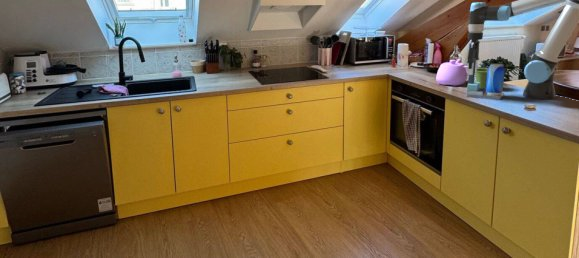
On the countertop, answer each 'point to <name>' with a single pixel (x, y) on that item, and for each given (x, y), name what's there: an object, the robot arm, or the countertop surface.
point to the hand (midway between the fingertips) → (471, 73)
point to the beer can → (495, 79)
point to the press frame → (483, 94)
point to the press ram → (473, 85)
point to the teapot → (452, 73)
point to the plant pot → (481, 76)
